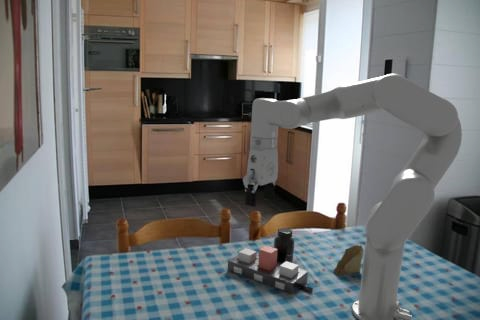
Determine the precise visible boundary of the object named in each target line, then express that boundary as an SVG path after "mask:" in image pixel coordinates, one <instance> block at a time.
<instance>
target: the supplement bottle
mask: <svg viewBox="0 0 480 320" xmlns="http://www.w3.org/2000/svg"><path fill="white" fill-rule="evenodd" d="M273 248H276V249H278V251H277V261H278V262H281V263H284V262H286V261H287V262H290V263H293V262H294V251H295V250H294V249H295V240H294V238H293V230H292V229H290V228H287V227H280V228H277V236H275V238H274V239H273ZM293 264H294V263H293Z"/></svg>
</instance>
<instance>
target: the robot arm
mask: <svg viewBox="0 0 480 320" xmlns="http://www.w3.org/2000/svg"><path fill="white" fill-rule="evenodd" d="M251 106H252V107H251V108H252V109H251V124H250V125H251V126H250V142H249V143H250V144H249V148H250V149H249V152H248V160H247V167H246V168H247V169H246V174H245V175H244V177H243V178H242V183H243V187H244V191H245V201H244V202H245V206H250V207H254V208H255V207H256V206H257V198H258V197H257V195H258V193H257V192H256V191H257V189H258V186H260V187H261V186H262V187H263V198H264V199H268V200H273V199H275V188H276V185H277V183H276V181H277V179H278V177H279V176H278V173H279V154H278V151H279V150H278V137H279V136H278V135H279V127H280V128H283V129H286V130H287V129H289V130H290V129H291V130H292V129H296V128H299V127H300V126H304V125H308V124H312V123H318V122H322V121H326V120H327V121H328V120H335V119H338V120H339V119H340V120H347V119H353V118H356V117H361V116H366V115H372V114H375V113H377V114H378V113H381V112H387V114H389V115H391V116H393V117H395V119H398V120H400V121H402V122H403V123H405V124H407V125H409V126H411V127H412V128H414V129H416V130H417V131H420V132H421V133H422V134H423V136H422V140H421V142H420V144H419V145H418V147H417V149H416V150H415V151H414V153H413V154H412V156H411V157H410V159H409V160H408V161H407V162H406V164H405V166H404V167H403V168H402V169H401V171H400V172H399V173H398V174H397V175H396V176H395V178H394V179H393V182H392V184H391V189H390V190H389V191H388V193H387V194H386V195H385V197H384V198H383V200H382V201H380V202H378V203H376V204H375V205H374V206H373V207H372V208H371V209H370V211H369V213H368V216H367V219H366V223H365V237H366V239H365V246H364V252H363V261H362V271H361V280H360V287H359V296H358V300H356V301H354V302H353V304H352V306H351V312H352V314H353V316H354V317H355V318H357V319H358V320H413V315H412V314H410V312H411V311H410V310H408V309H405V308H401V306H400V301H399V300H398V293H399V292H398V291H399V287H400V286H399V284H400V277H401V271H402V266H403V265H402V264H403V257H404V249H405V242H406V241H407V240H408V239H409V238H410V237H411V235H412V234H413V232H414V231H415V230H416V229H417V227H418V226H419V224H420V223H421V222H422V221H423V220H424V218H425V217H426V216H427V214H428V212H429V211H430V210H431V208H432V206H433V204H434V201H435V189H436V187H437V185H438V184H439V183H440V181H441V180H442V178H443V177H444V175H445V174H446V172H447V171H448V170H449V168H450V167H451V165H452V164H453V162H454V161H455V159H457V156H458V154H459V152H460V148H461V145H462V136H463V133H462V131H463V130H462V124H461V121H460V118H459V112H458V110H457V108H456V107H455V105H454V104H453V103H452V102H450V101H449V100H448V99H446V98H443V97H441V96H439V95H437V94H435V93H433V92H431V91H430V90H428V89H425V87H422V86H420V85H419V84H417V83H415V82H413V81H412V80H410V79H408V78H407V77H405V75H402V74H400V73H388V74H386V75H383V76H382V75H381V76H379V77H373V78H369V79H366V80H362V81H361V80H360V81H357V82H353V83H352V82H351V83H348V84H345V85H344V84H343V85H340V86H338V87H335V88H334V89H331V90H329V91H325V92H322V93H317V94H315V95H314V94H313V95H308V96H304V97H300V98H297V99H295V98H294V99H288V100H277V99H275V98H267V97H266V98H265V97H261V98H260V97H259V98H255V99H254V100H253V102H252V105H251ZM252 185H253V186H252Z"/></svg>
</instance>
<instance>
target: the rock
mask: <svg viewBox="0 0 480 320" xmlns="http://www.w3.org/2000/svg"><path fill="white" fill-rule="evenodd" d="M363 257H364V249H363V247H362V245H358V244H357V245H353V246H350V247H348V248H346V249H345V252H344V253H343V255H342V257H341V259H340V260H339V261H338V262H337V264H336V267H335V268H334V269H333V271H332V272H333V274H335V276H342V275H346V274H355V273H360V272H361V268H362V267H361V264H362V263H361V262H362V259H363Z"/></svg>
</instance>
